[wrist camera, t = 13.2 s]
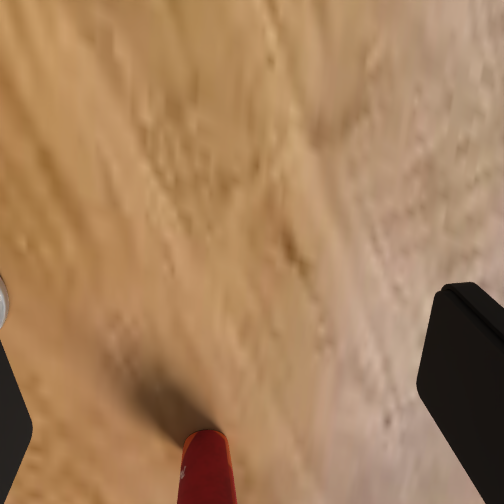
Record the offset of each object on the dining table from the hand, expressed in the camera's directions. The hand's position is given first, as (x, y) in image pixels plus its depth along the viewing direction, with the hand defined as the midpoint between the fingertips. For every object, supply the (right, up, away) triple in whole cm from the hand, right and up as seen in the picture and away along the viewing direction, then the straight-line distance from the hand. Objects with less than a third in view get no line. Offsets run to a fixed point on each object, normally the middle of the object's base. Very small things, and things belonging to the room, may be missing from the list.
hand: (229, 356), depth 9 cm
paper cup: (-5, -22, +43) cm, 48 cm away
